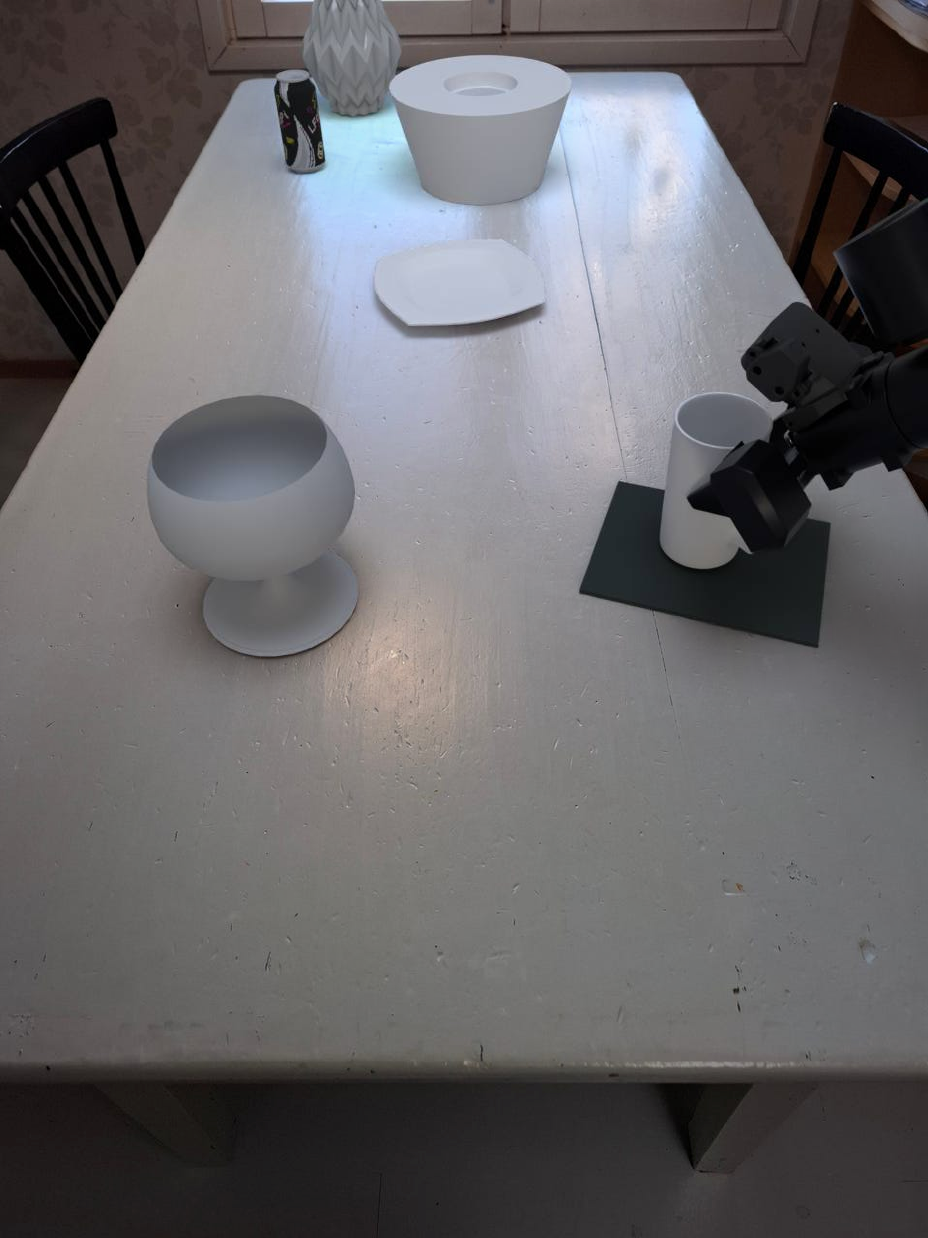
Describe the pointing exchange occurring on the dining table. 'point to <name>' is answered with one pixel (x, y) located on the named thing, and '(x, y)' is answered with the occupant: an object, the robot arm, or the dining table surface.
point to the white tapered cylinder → (481, 124)
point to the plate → (458, 282)
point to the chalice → (258, 519)
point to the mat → (709, 574)
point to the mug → (705, 474)
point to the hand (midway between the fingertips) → (713, 478)
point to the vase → (351, 53)
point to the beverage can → (299, 121)
